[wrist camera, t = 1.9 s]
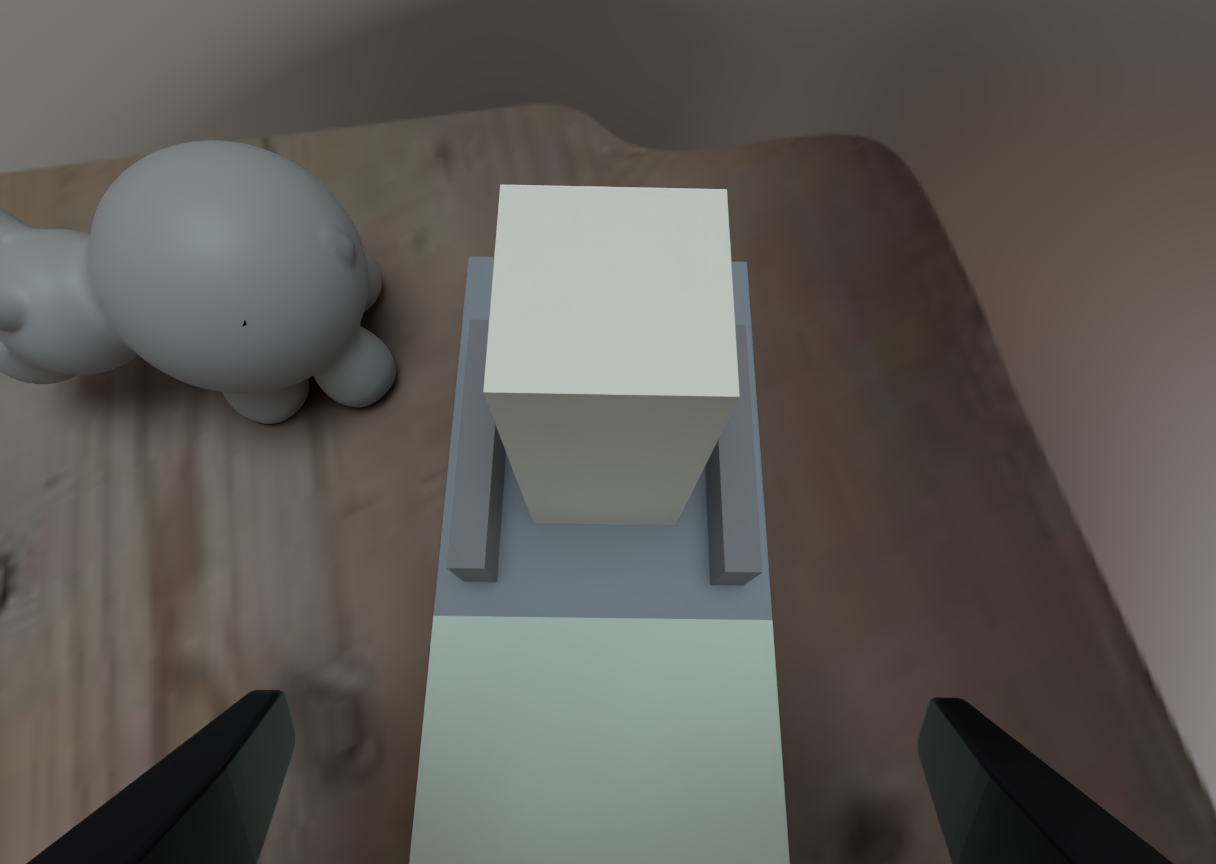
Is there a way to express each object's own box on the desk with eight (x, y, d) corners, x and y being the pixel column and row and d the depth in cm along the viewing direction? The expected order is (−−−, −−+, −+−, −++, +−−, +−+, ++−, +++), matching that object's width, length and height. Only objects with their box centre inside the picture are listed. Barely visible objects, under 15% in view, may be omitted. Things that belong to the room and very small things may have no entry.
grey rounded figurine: (76, 298, 26) (-163, 120, 18) (399, 253, 27) (314, 64, 19) (57, 481, 24) (-232, 371, 15) (414, 423, 25) (323, 291, 16)
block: (675, 525, 21) (739, 396, 12) (533, 523, 21) (482, 392, 12) (672, 395, 23) (726, 189, 13) (539, 393, 23) (500, 184, 13)
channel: (774, 955, 19) (831, 1042, 15) (421, 953, 19) (364, 1039, 14) (733, 298, 27) (762, 217, 22) (479, 294, 27) (455, 211, 22)
